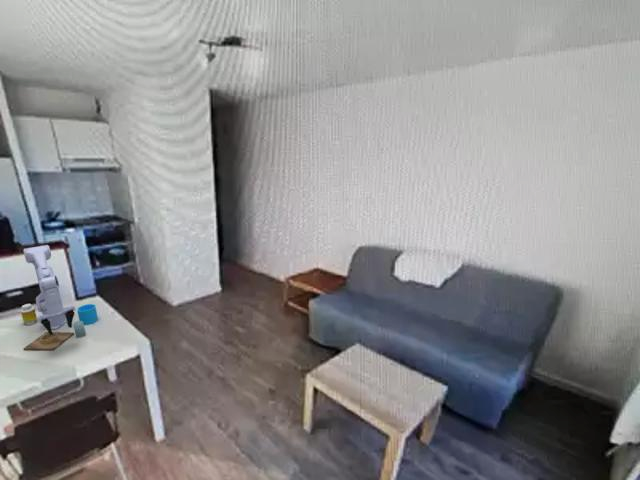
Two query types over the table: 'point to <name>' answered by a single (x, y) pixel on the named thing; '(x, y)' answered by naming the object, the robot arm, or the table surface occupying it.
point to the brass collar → (48, 341)
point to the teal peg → (79, 329)
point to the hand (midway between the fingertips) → (60, 330)
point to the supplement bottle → (28, 314)
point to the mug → (87, 314)
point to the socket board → (52, 346)
